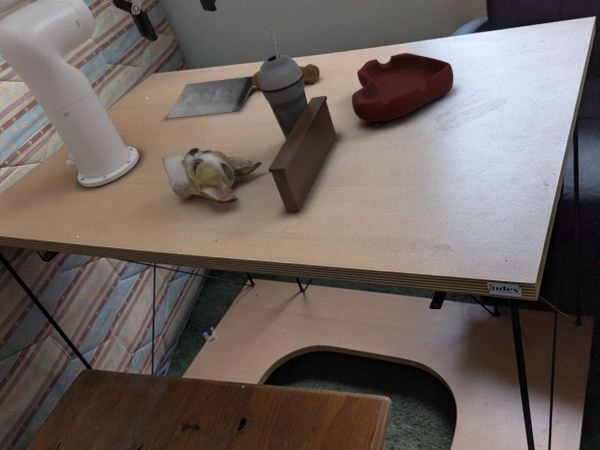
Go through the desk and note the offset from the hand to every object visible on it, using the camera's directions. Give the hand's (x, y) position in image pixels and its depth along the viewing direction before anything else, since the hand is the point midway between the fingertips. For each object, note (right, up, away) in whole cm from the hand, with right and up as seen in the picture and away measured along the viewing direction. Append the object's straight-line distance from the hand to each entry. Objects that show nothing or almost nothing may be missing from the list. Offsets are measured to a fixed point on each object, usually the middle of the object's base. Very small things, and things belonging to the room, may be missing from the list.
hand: (182, 24), depth 78 cm
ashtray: (+35, -7, +17) cm, 40 cm away
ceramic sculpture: (+3, -23, +12) cm, 26 cm away
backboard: (+19, -20, +8) cm, 29 cm away
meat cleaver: (+4, -1, +40) cm, 40 cm away
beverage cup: (+17, -14, +16) cm, 28 cm away
